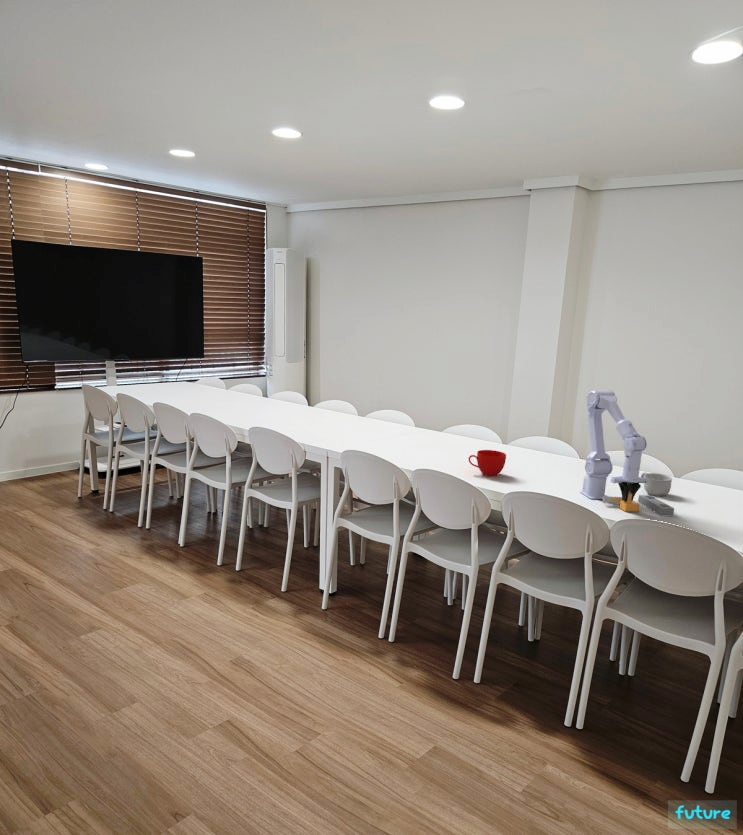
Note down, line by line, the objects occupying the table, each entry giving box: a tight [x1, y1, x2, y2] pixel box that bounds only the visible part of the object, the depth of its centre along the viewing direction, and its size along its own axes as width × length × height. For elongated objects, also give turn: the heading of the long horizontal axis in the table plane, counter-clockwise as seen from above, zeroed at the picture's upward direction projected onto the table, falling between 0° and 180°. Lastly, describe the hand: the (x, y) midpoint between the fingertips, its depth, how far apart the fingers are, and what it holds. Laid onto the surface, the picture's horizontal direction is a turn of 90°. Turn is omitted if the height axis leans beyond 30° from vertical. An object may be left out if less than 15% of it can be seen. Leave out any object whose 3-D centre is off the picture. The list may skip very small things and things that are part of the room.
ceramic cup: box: [468, 449, 507, 477], centre depth 279 cm, size 13×17×10 cm
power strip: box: [637, 494, 675, 517], centre depth 243 cm, size 16×5×3 cm, turn 8°
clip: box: [602, 495, 634, 504], centre depth 244 cm, size 12×2×4 cm, turn 91°
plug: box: [619, 492, 641, 513], centre depth 239 cm, size 4×6×7 cm
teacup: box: [640, 472, 673, 497], centre depth 265 cm, size 14×11×8 cm
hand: (627, 500), depth 239 cm, fingers closed on plug, 2 cm apart
